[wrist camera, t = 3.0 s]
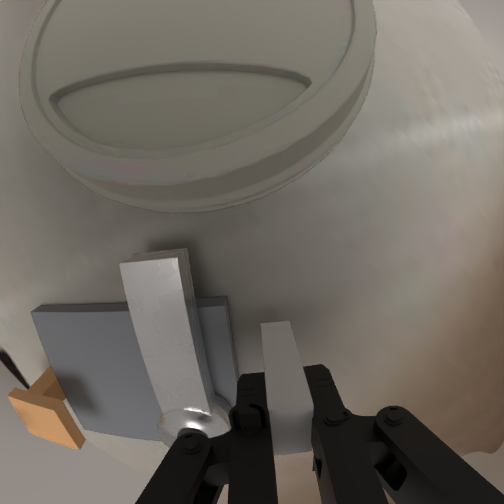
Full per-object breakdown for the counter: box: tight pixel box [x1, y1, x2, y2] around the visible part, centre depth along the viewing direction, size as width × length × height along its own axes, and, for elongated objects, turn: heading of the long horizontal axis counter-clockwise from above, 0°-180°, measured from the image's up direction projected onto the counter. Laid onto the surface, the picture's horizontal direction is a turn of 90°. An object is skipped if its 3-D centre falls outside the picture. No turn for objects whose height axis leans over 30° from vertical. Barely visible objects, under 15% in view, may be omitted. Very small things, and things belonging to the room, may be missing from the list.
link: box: [119, 248, 231, 447], centre depth 14 cm, size 14×5×3 cm, turn 6°
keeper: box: [8, 367, 86, 450], centre depth 16 cm, size 4×6×6 cm
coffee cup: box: [19, 0, 377, 213], centre depth 9 cm, size 8×8×12 cm
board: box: [31, 296, 239, 441], centre depth 18 cm, size 12×15×2 cm
